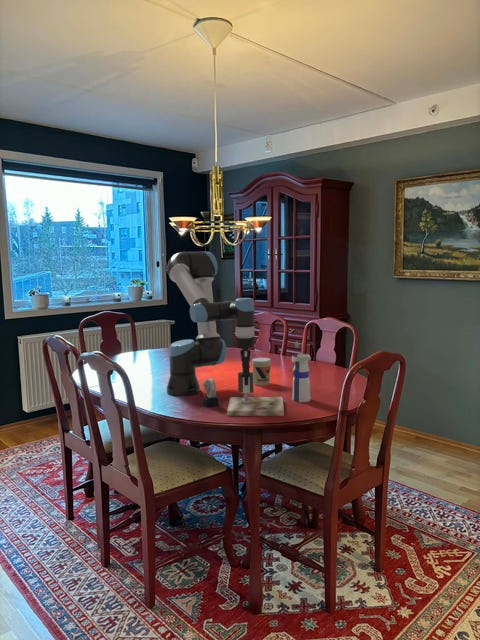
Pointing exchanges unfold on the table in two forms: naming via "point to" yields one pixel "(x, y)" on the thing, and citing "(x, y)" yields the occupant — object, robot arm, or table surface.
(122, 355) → the table surface
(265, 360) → the coffee cup
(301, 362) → the water bottle
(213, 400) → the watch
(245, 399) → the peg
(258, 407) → the dial board
